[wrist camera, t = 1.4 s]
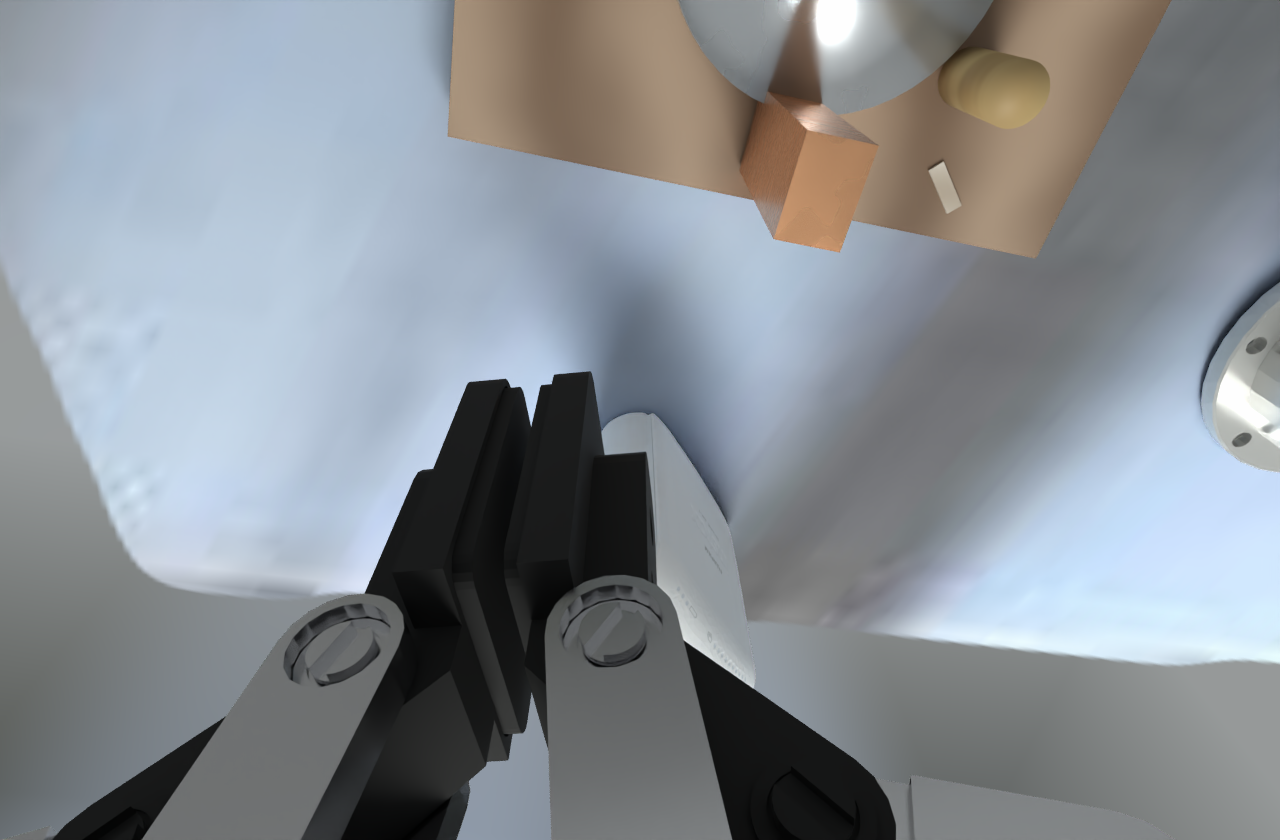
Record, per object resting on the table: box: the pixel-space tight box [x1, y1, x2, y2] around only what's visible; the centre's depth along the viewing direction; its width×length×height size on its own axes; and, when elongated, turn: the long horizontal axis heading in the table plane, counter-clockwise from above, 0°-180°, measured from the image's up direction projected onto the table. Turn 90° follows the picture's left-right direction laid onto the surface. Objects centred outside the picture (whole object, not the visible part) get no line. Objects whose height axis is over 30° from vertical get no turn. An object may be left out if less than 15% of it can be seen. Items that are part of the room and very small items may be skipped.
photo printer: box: [601, 412, 755, 689], centre depth 33 cm, size 10×4×12 cm, turn 29°
